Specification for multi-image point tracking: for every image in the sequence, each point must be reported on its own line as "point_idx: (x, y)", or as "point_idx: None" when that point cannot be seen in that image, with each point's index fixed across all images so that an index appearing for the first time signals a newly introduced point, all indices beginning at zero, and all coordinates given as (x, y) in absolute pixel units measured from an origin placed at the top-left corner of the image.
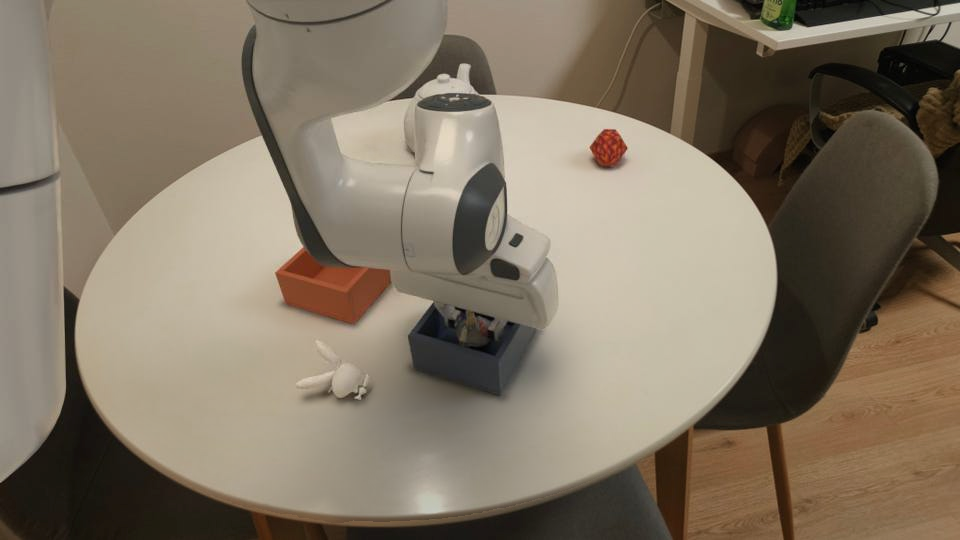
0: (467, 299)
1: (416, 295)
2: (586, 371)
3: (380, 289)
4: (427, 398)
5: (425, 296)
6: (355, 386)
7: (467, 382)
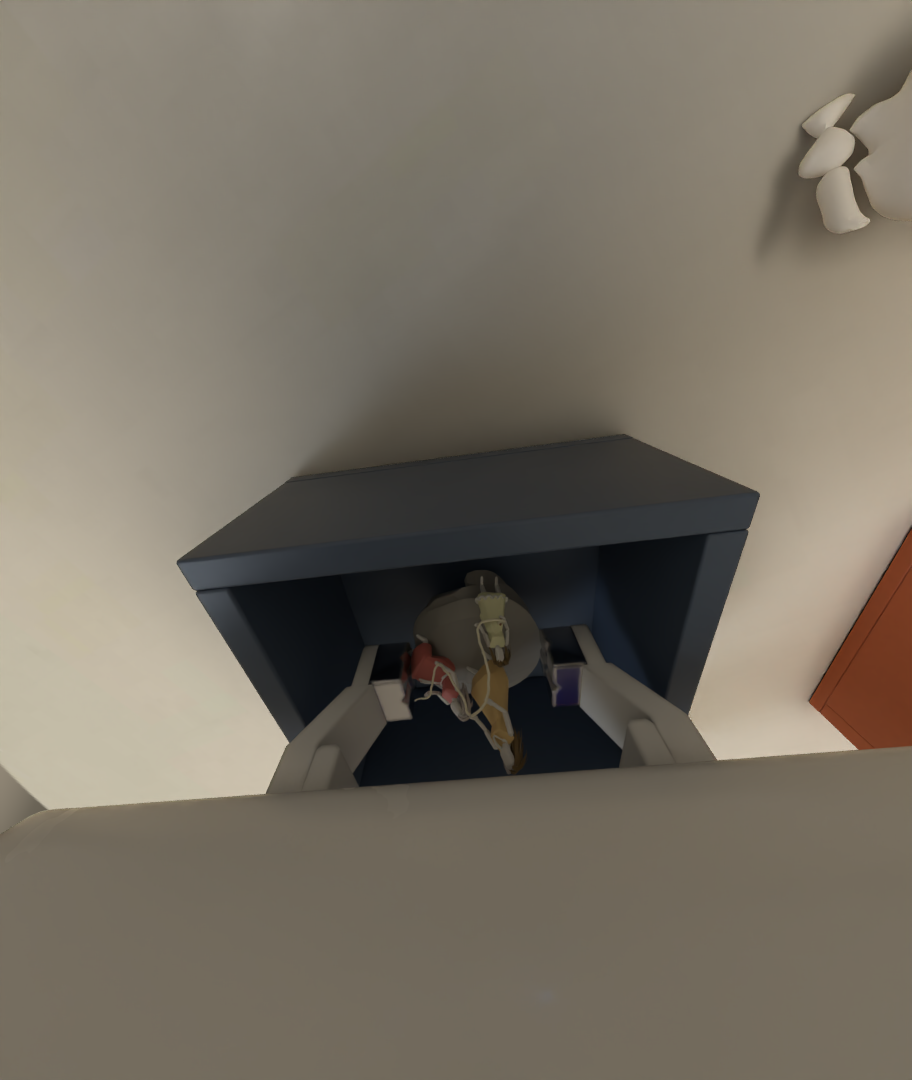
0: (460, 920)
1: (862, 766)
2: (185, 646)
3: (863, 648)
4: (504, 329)
5: (799, 789)
6: (907, 99)
7: (406, 466)
